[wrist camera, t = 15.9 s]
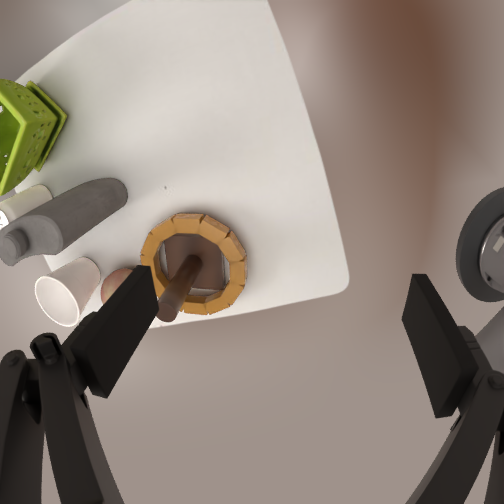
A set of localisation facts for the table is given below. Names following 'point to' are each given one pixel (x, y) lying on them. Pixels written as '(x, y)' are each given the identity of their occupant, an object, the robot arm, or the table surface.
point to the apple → (113, 283)
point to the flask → (61, 220)
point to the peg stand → (189, 271)
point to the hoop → (211, 232)
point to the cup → (67, 290)
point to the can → (23, 203)
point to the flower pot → (25, 131)
